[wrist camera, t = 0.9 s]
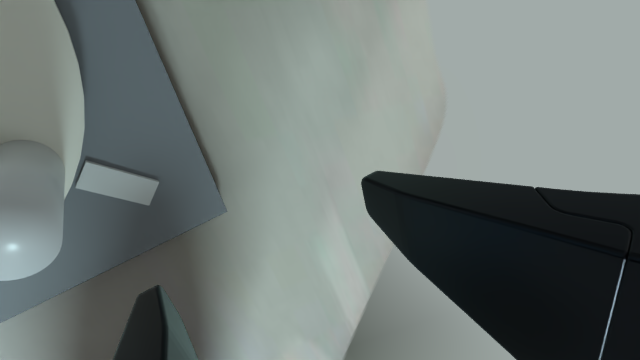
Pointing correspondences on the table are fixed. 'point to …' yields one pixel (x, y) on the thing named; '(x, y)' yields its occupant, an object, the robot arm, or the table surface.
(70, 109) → the dial
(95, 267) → the dial board
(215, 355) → the table surface
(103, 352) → the table surface
